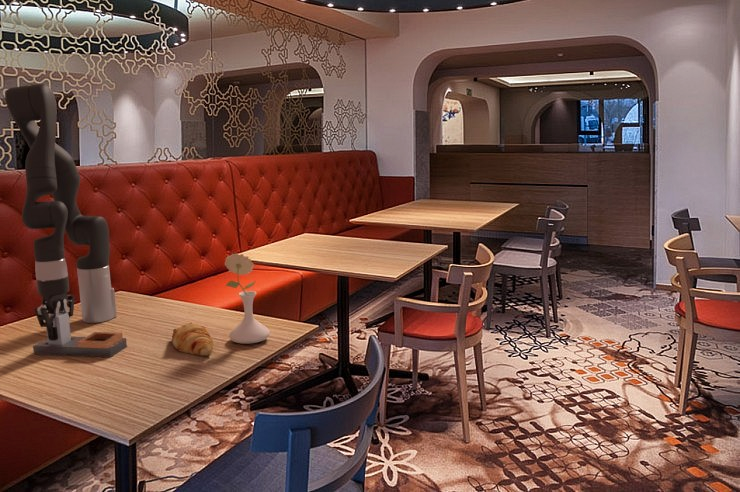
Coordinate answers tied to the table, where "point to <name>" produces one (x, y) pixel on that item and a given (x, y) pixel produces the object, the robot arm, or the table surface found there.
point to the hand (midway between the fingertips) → (59, 336)
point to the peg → (61, 330)
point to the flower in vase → (245, 304)
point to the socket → (85, 346)
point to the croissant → (192, 339)
